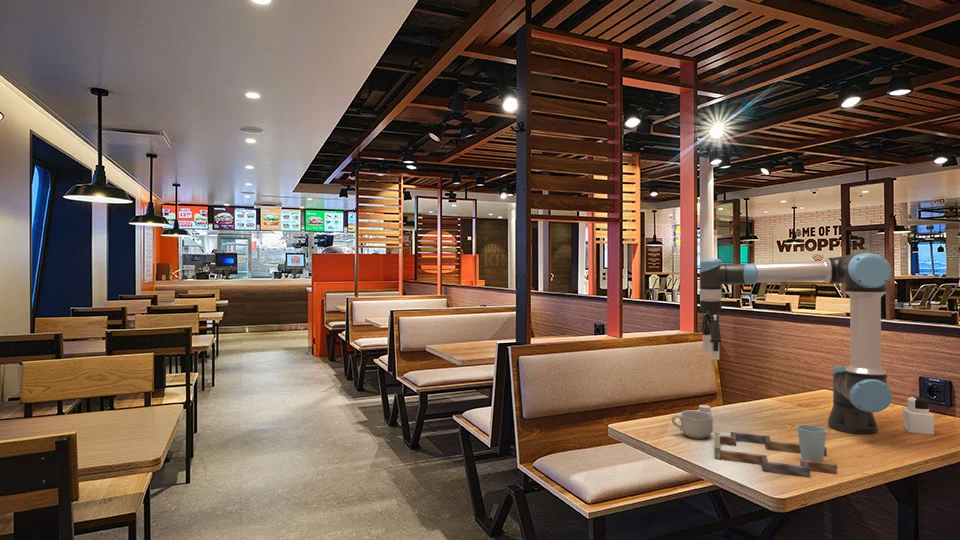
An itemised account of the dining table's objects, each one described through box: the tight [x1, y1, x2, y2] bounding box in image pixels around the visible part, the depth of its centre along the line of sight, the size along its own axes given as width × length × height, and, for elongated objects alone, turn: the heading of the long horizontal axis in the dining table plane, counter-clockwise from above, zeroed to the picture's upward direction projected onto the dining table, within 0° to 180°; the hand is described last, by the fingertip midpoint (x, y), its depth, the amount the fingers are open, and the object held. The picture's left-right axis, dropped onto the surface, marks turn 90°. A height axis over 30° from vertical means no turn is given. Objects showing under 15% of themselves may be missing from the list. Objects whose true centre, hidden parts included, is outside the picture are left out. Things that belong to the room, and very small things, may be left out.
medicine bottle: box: [902, 396, 935, 436], centre depth 191 cm, size 7×7×12 cm
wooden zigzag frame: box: [714, 431, 838, 478], centre depth 168 cm, size 32×28×4 cm
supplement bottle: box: [698, 404, 713, 416], centre depth 198 cm, size 5×5×8 cm
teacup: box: [671, 409, 714, 440], centre depth 189 cm, size 14×11×8 cm
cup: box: [796, 424, 827, 462], centre depth 163 cm, size 8×8×10 cm
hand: (710, 355), depth 200 cm, fingers open, 13 cm apart
